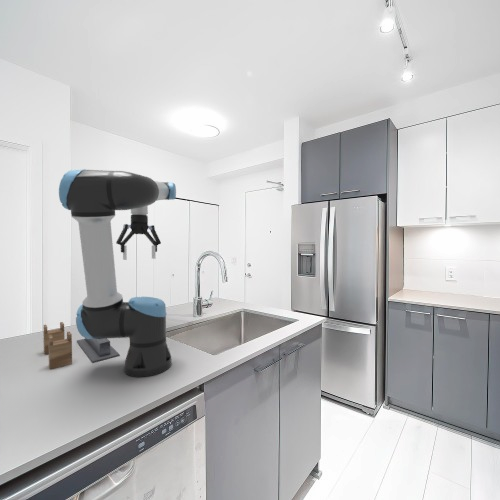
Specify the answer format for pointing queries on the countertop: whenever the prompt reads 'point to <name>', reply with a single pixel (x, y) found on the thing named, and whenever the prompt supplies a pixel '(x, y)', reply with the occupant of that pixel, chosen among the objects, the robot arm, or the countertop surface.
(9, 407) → the countertop surface
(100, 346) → the rail
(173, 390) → the countertop surface
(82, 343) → the mat
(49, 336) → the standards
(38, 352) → the countertop surface
